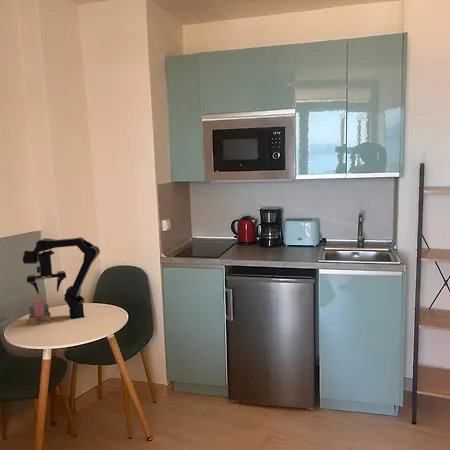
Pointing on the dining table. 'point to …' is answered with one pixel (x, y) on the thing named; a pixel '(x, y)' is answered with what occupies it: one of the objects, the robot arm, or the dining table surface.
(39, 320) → the rack
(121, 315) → the dining table surface
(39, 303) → the red rectangular block
